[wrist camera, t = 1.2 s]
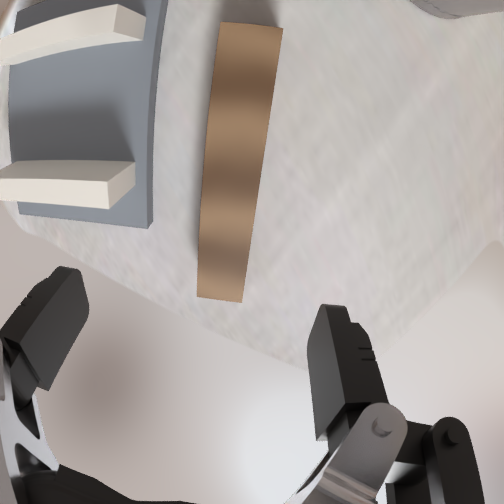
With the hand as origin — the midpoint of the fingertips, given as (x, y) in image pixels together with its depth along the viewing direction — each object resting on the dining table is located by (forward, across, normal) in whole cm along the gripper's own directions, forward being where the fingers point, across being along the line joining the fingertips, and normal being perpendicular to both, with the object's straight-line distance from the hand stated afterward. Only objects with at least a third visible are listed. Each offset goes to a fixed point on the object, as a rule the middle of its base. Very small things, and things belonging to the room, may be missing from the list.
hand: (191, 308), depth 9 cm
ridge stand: (+17, +15, -5) cm, 23 cm away
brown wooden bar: (+17, 0, 0) cm, 17 cm away
